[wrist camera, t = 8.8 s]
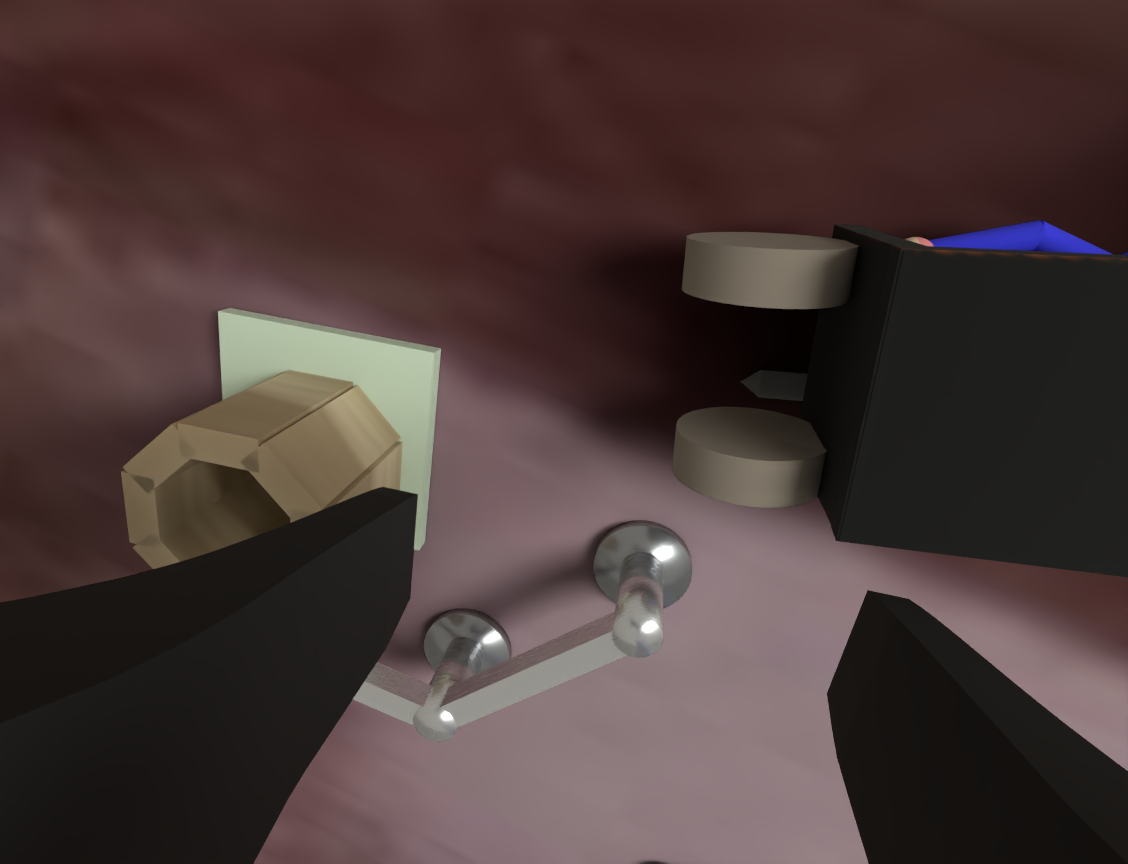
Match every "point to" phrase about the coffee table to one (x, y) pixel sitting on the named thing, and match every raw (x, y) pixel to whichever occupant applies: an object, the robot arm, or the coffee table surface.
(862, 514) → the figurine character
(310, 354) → the pad
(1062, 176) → the coffee table surface
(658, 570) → the grey piece
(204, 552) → the maple ring
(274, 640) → the robot arm
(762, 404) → the coffee table surface
